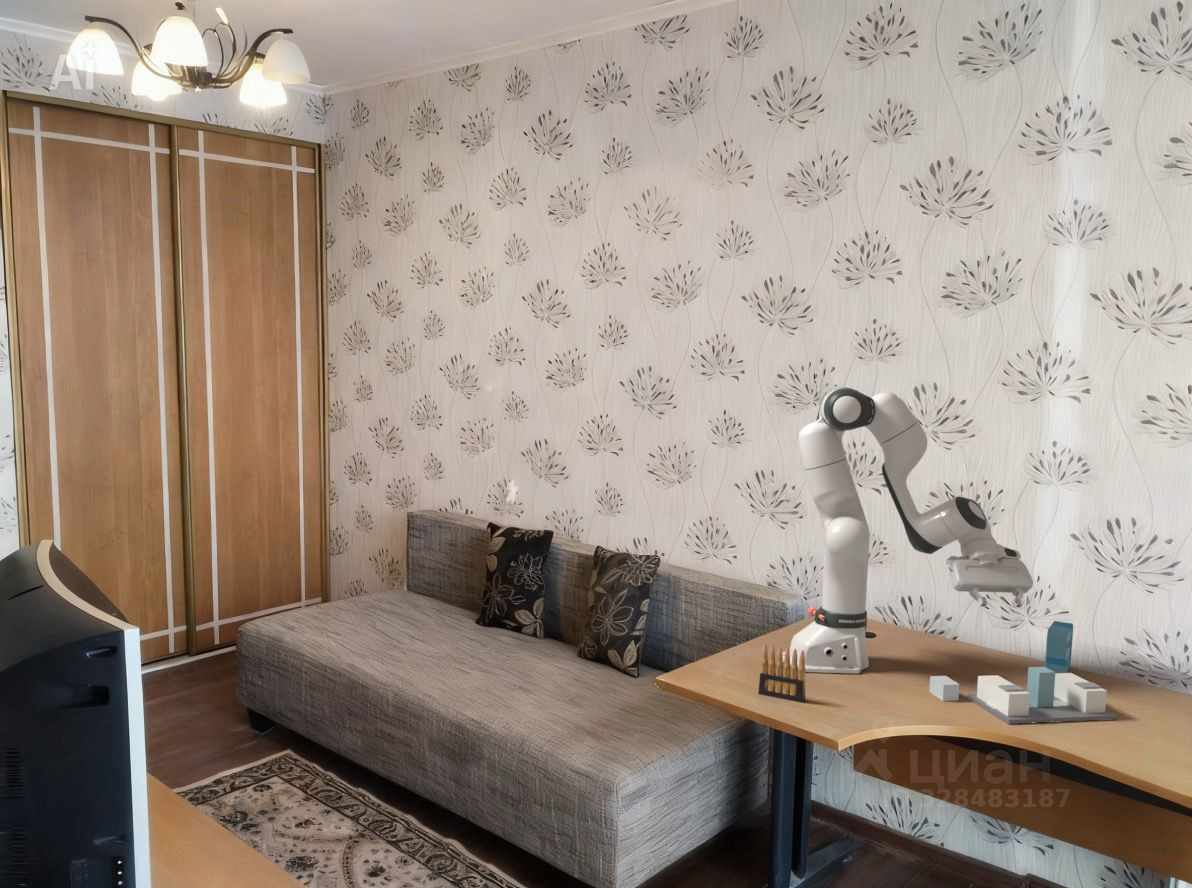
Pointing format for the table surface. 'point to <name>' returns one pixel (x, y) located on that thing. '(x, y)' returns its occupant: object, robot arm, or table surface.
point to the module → (1041, 686)
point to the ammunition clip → (782, 675)
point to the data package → (1059, 647)
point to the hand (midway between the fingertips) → (1001, 605)
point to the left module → (1003, 695)
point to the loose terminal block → (944, 688)
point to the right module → (1080, 693)
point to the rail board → (1045, 712)
